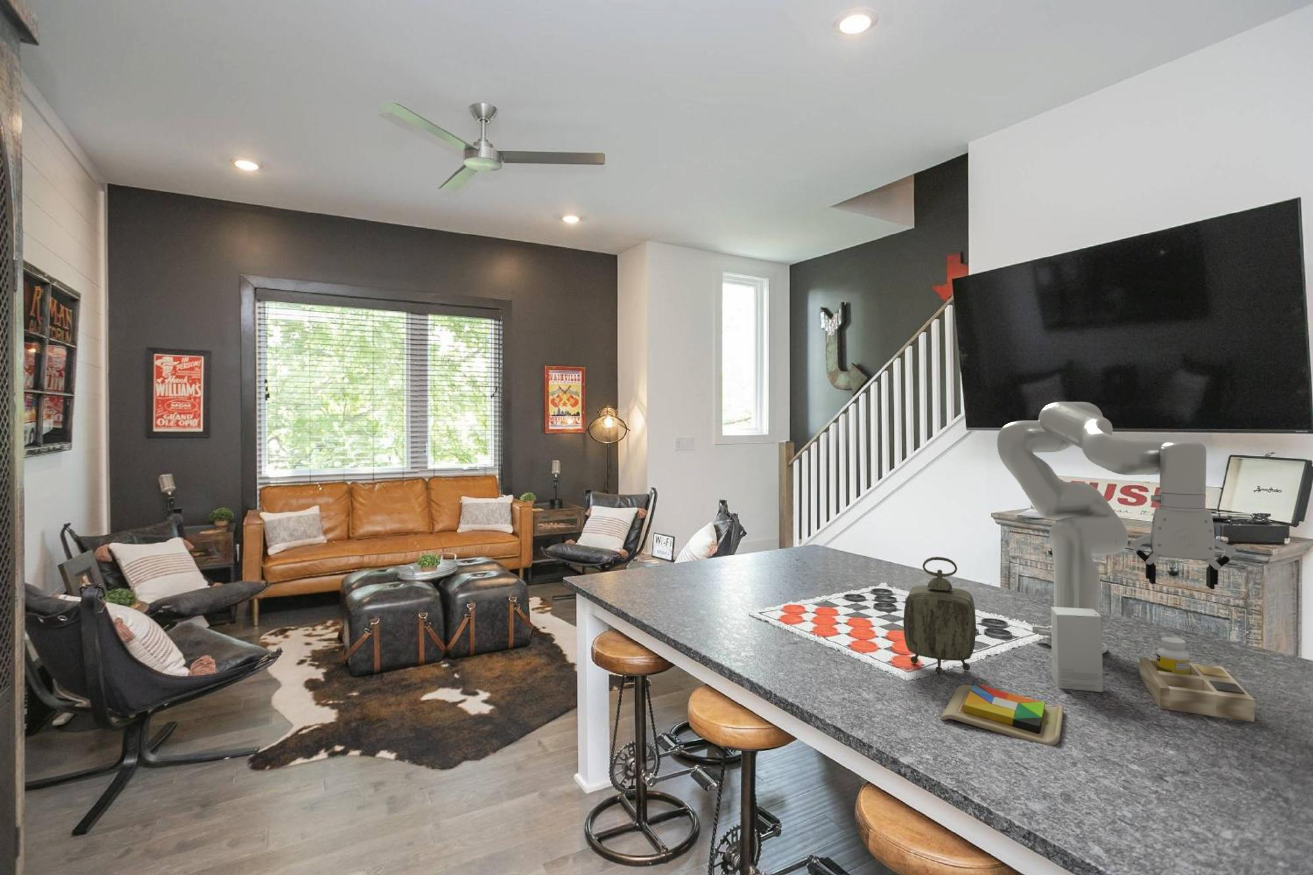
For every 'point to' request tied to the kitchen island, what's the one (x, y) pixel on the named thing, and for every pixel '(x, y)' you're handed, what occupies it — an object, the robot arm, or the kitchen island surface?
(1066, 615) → the skincare box
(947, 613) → the tabletop clock
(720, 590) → the kitchen island surface
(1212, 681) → the socket block
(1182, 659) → the supplement bottle
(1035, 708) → the wooden puzzle
